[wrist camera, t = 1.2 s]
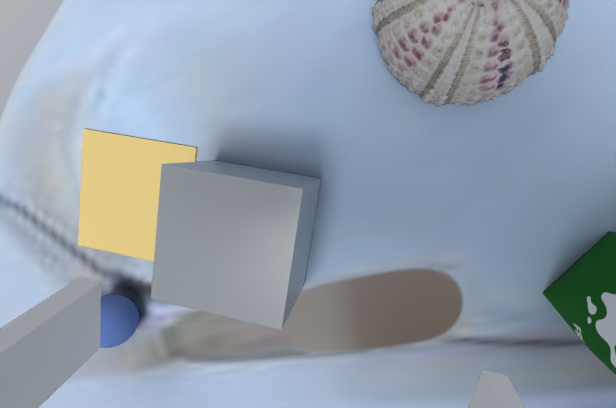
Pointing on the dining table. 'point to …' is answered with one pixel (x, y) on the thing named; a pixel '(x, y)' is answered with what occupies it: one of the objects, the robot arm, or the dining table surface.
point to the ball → (117, 320)
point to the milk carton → (591, 299)
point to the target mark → (123, 191)
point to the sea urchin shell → (466, 44)
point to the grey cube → (233, 239)
